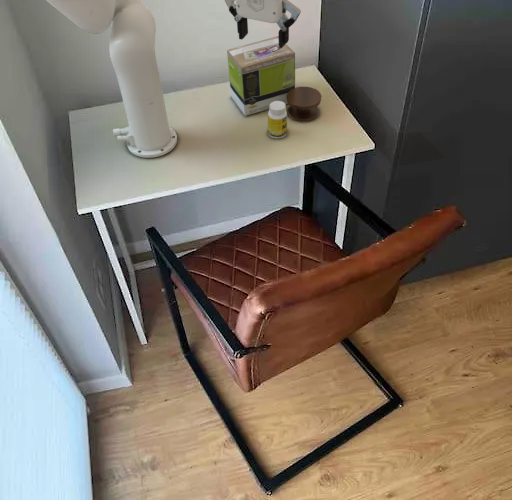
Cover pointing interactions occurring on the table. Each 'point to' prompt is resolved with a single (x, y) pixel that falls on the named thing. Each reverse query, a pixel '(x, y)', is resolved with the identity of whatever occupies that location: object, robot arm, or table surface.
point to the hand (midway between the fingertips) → (263, 40)
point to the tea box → (260, 74)
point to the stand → (303, 103)
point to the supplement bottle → (277, 119)
